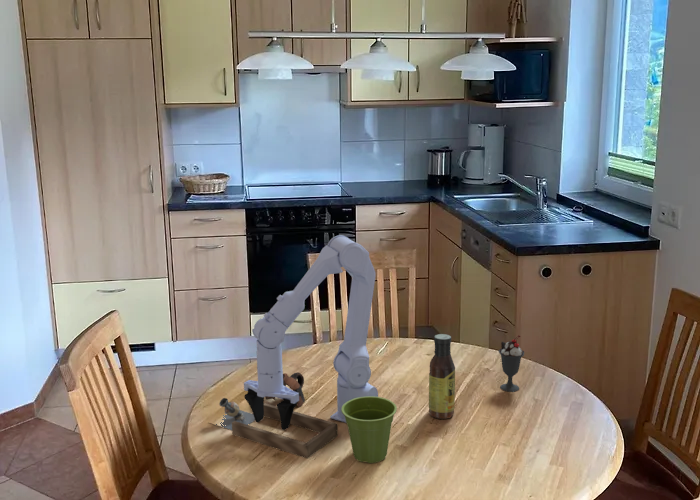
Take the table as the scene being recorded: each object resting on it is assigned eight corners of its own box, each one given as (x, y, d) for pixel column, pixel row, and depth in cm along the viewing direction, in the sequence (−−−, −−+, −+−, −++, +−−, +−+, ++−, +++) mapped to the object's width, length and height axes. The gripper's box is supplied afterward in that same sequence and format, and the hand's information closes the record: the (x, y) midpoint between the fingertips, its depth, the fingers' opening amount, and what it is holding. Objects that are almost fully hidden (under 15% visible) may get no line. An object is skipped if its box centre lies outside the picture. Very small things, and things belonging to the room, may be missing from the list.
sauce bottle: (453, 421, 173) (455, 342, 168) (427, 419, 174) (428, 341, 170) (455, 409, 179) (457, 333, 175) (429, 407, 180) (431, 331, 176)
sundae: (525, 393, 188) (528, 338, 184) (499, 393, 188) (501, 338, 184) (520, 382, 194) (522, 329, 191) (494, 382, 194) (496, 329, 191)
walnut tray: (337, 435, 167) (337, 423, 166) (307, 458, 157) (307, 445, 156) (264, 414, 178) (264, 403, 177) (232, 434, 168) (231, 422, 167)
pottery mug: (296, 415, 178) (277, 388, 177) (270, 421, 184) (253, 395, 183) (319, 385, 188) (302, 360, 186) (295, 393, 193) (278, 368, 192)
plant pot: (364, 437, 166) (364, 391, 163) (407, 453, 159) (407, 405, 156) (330, 457, 157) (329, 409, 154) (374, 476, 150) (374, 425, 147)
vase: (224, 427, 171) (222, 403, 170) (217, 420, 176) (215, 396, 175) (246, 422, 173) (244, 398, 172) (238, 414, 178) (236, 391, 177)
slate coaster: (261, 417, 177) (261, 416, 176) (236, 432, 169) (236, 431, 169) (232, 409, 181) (232, 407, 181) (207, 423, 174) (207, 422, 174)
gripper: (234, 369, 166) (237, 424, 169) (284, 382, 159) (287, 439, 162) (253, 359, 172) (256, 412, 175) (303, 371, 164) (305, 426, 168)
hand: (272, 424), depth 169 cm, fingers open, 7 cm apart
